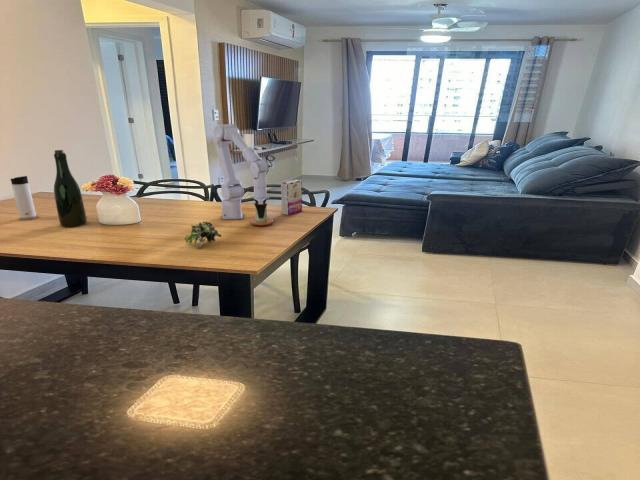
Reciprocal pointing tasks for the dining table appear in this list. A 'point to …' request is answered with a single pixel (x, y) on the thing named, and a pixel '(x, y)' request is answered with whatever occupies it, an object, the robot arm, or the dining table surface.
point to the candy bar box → (291, 197)
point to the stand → (254, 222)
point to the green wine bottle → (67, 194)
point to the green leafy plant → (202, 233)
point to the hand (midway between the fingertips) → (261, 215)
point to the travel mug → (23, 198)
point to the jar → (261, 218)
